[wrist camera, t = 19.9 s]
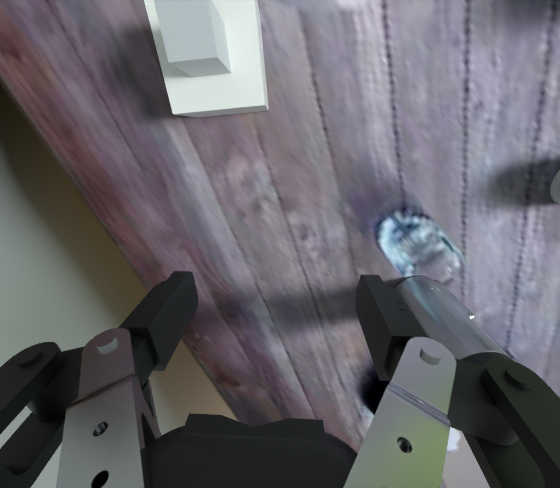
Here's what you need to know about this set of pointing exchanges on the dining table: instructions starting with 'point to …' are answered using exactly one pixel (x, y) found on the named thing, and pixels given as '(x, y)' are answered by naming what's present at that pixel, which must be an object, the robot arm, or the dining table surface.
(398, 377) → the robot arm
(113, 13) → the dining table surface
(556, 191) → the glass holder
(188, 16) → the white grey stepped block
